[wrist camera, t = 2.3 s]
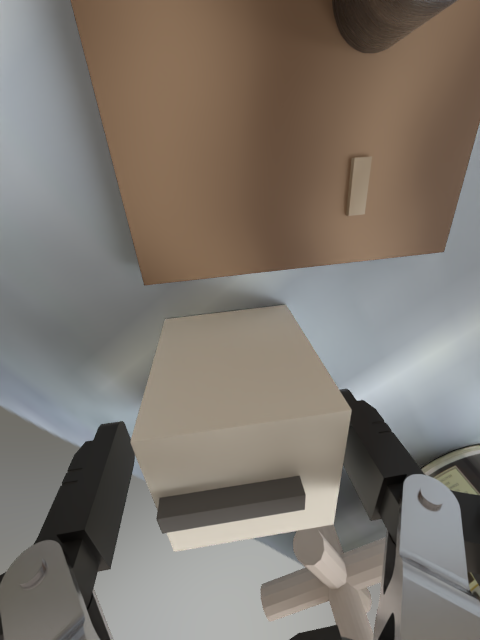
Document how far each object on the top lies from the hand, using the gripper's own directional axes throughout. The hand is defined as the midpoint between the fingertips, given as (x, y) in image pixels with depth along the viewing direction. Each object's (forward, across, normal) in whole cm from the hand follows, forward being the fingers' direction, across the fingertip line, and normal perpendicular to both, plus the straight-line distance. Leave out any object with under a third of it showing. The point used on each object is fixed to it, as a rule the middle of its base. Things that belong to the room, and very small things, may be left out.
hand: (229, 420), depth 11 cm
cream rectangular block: (+4, 0, 0) cm, 4 cm away
